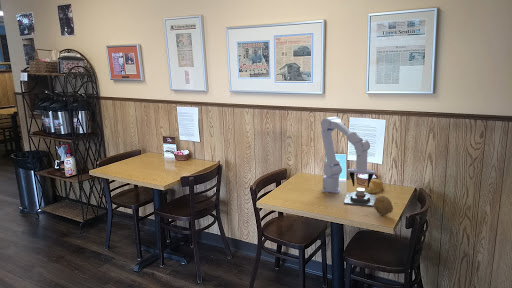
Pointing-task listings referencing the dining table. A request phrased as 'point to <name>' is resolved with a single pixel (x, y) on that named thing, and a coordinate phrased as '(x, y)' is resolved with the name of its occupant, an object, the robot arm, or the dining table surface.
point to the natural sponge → (383, 205)
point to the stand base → (360, 199)
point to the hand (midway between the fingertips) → (360, 186)
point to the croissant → (374, 186)
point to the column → (360, 192)
